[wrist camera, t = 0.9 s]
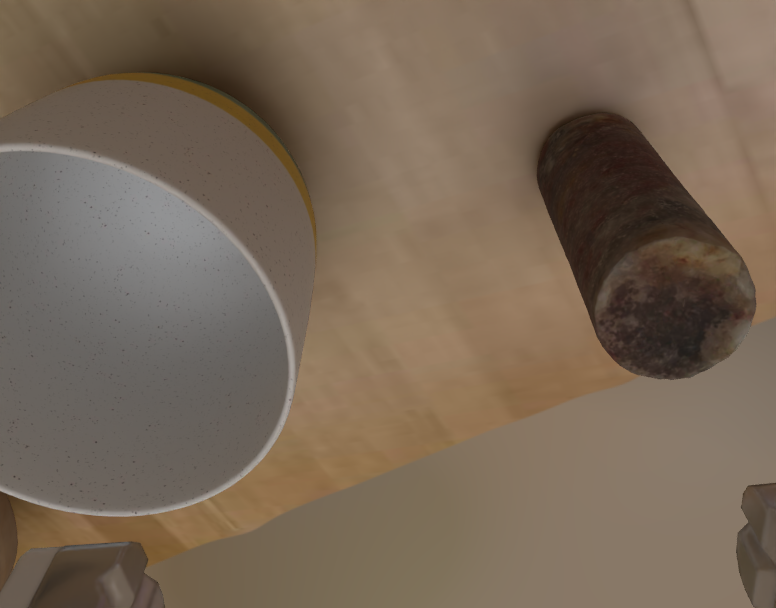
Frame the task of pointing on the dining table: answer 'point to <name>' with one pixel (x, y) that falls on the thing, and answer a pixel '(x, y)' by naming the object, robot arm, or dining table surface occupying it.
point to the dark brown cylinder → (643, 251)
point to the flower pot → (7, 539)
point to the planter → (146, 294)
